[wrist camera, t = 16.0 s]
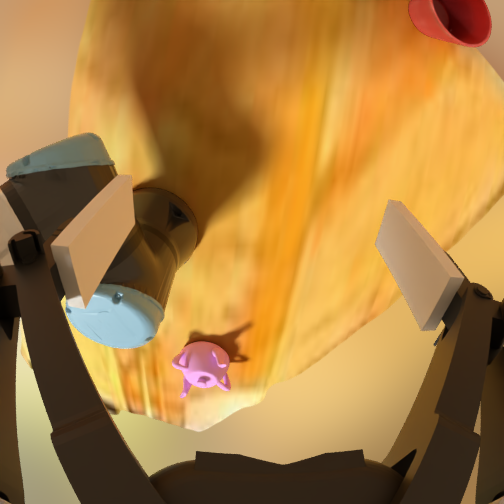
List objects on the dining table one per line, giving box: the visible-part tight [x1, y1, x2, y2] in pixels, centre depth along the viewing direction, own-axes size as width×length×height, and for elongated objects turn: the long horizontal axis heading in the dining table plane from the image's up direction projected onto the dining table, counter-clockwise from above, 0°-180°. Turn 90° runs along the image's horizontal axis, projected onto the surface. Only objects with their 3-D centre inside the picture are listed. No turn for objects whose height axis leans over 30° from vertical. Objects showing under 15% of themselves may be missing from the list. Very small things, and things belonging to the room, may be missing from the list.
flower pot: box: [409, 0, 492, 47], centre depth 27 cm, size 11×11×10 cm
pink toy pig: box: [172, 341, 231, 398], centre depth 66 cm, size 12×14×9 cm
